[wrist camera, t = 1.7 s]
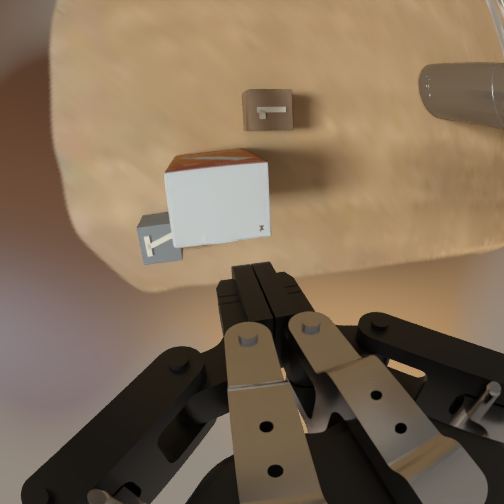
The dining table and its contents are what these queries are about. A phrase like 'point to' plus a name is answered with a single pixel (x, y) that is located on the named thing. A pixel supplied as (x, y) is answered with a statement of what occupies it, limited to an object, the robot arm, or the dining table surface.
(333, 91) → the dining table surface
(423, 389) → the robot arm
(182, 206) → the small box
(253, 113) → the walnut block one
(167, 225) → the slate block seven
